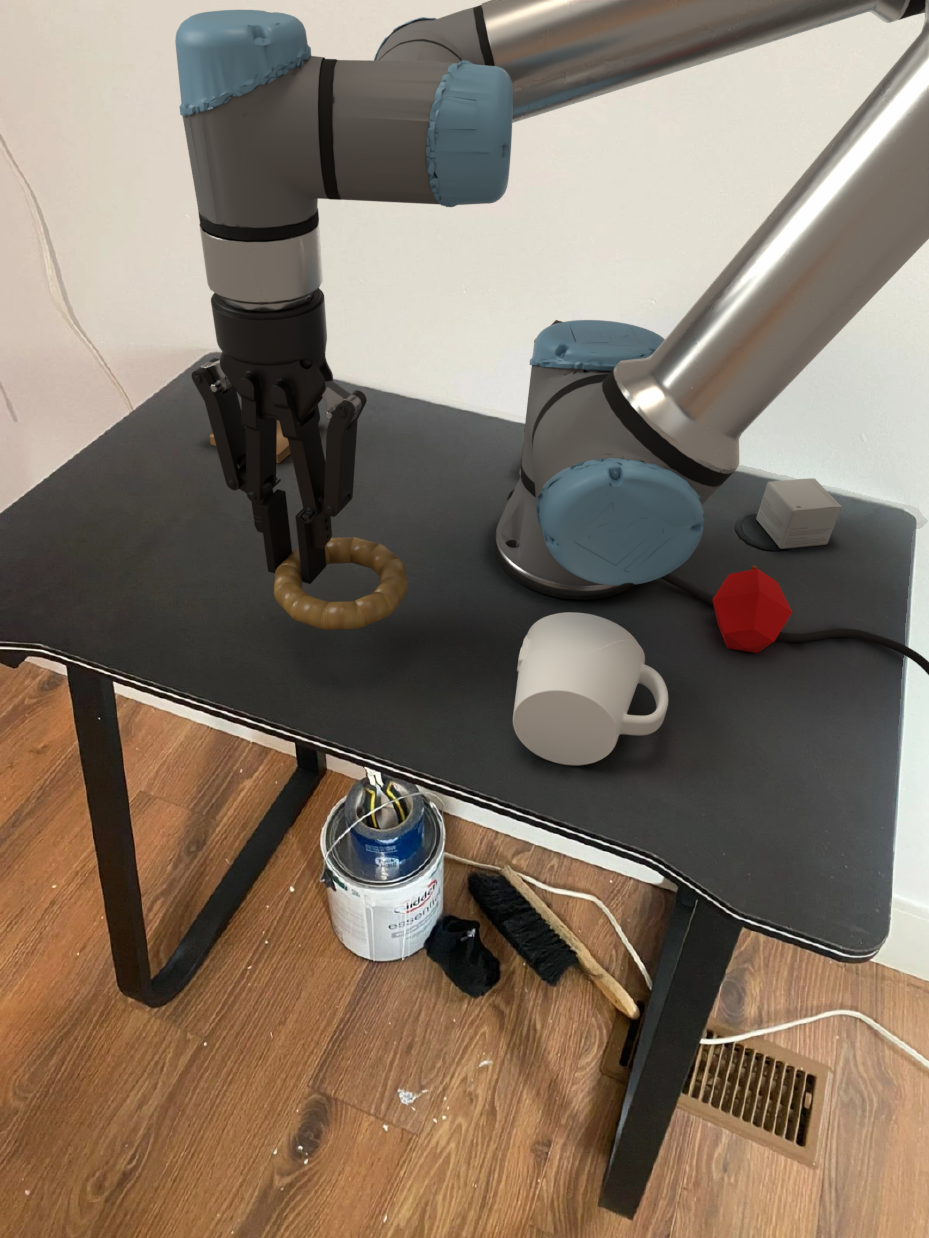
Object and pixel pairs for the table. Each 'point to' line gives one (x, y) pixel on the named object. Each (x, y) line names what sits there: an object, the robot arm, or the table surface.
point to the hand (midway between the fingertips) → (297, 568)
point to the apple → (750, 610)
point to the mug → (581, 688)
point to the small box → (798, 513)
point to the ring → (345, 611)
